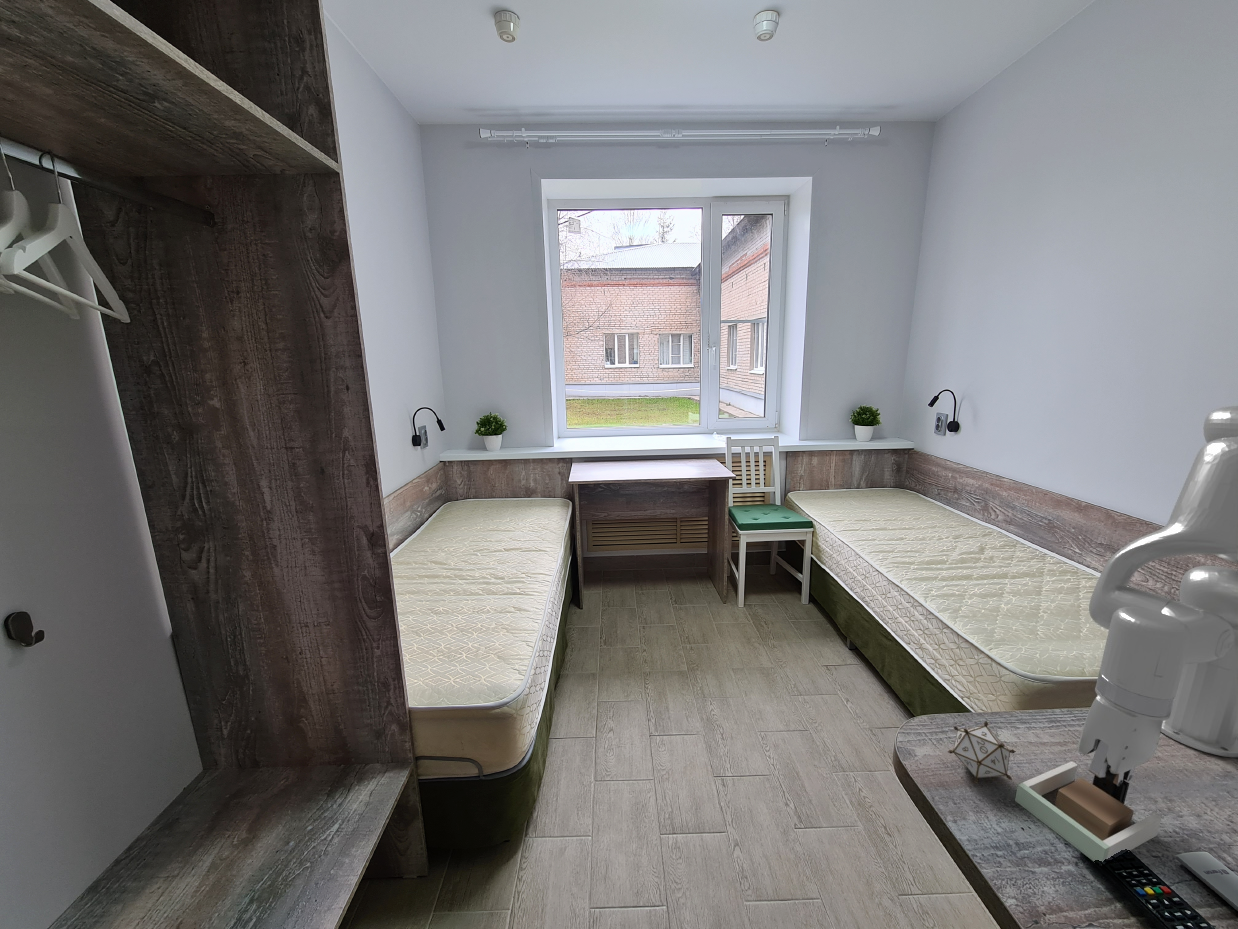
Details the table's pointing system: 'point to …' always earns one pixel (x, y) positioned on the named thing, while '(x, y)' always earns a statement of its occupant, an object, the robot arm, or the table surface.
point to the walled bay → (1069, 828)
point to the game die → (981, 752)
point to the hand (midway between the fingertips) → (1106, 798)
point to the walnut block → (1093, 809)
